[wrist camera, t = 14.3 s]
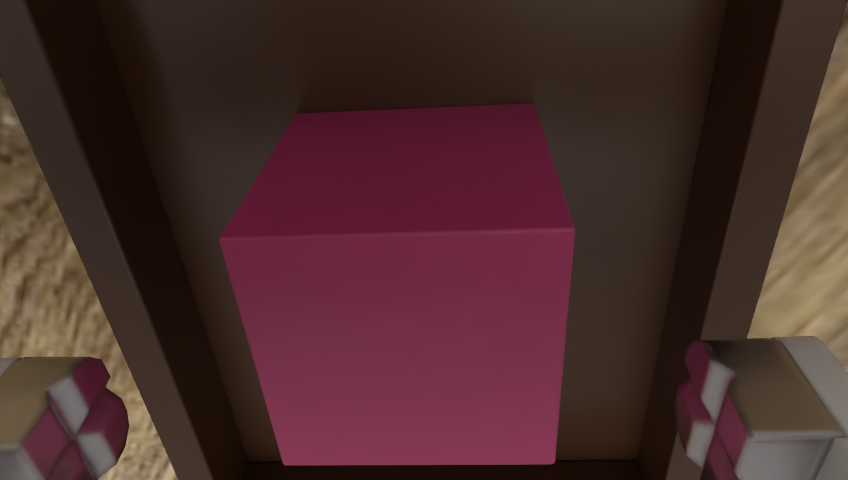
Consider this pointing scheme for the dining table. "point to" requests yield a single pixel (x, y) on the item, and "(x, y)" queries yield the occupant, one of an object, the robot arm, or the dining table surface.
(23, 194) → the dining table surface
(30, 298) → the dining table surface
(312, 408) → the pink block
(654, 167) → the tray
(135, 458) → the dining table surface
